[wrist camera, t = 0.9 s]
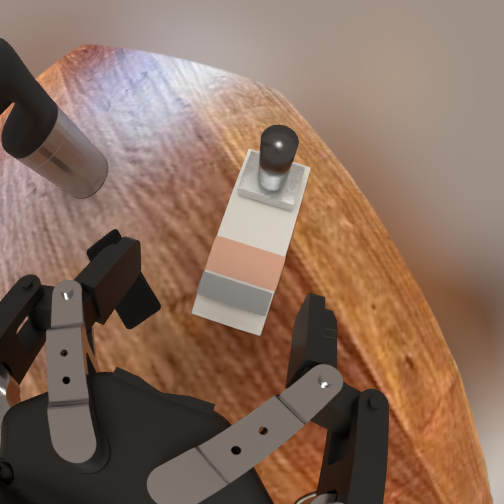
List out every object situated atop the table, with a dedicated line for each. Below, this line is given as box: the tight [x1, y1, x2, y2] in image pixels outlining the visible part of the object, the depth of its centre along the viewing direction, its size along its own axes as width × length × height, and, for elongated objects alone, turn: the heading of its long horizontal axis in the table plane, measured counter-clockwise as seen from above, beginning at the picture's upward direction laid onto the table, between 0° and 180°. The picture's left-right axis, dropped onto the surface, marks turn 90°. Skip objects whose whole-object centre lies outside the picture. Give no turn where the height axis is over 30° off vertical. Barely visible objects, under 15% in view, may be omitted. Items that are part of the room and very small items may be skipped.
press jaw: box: [238, 125, 305, 211], centre depth 35 cm, size 6×8×13 cm
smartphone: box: [87, 229, 161, 329], centre depth 41 cm, size 7×1×15 cm
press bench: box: [192, 149, 310, 336], centre depth 40 cm, size 26×10×6 cm, turn 162°
